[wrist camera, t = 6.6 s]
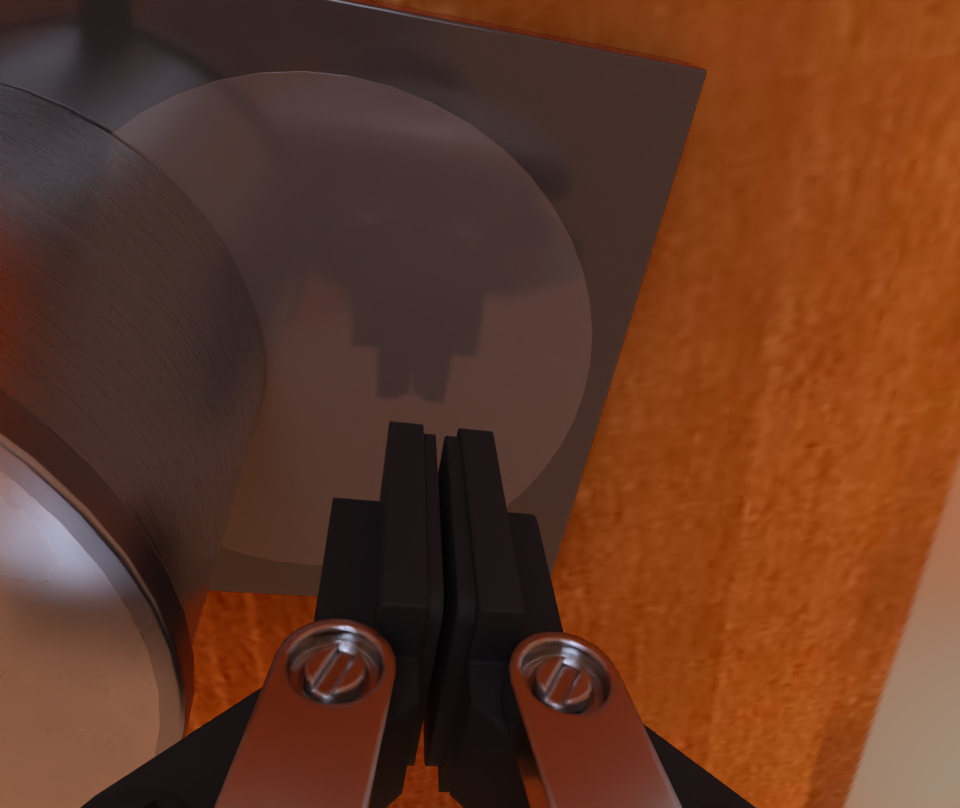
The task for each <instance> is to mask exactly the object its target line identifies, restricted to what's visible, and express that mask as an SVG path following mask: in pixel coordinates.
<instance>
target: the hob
mask: <svg viewBox="0 0 960 808" xmlns="http://www.w3.org/2000/svg"><path fill="white" fill-rule="evenodd" d="M705 76H706V70H705V69H703V68H700V67H698V66H695V65H693V64H691V63H688V62H686V61H681V60H676V59H670V58H665V57H660V56H655V55H650V54H645V53H640V52H635V51H629V50H624V49H619V48H614V47H609V46H604V45H599V44H593V43H588V42H583V41H578V40H573V39H568V38H563V37H558V36H552V35H547V34H542V33H537V32H532V31H527V30H522V29H517V28H511V27H506V26H501V25H496V24H491V23H486V22H481V21H476V20H470V19H465V18H460V17H455V16H450V15H445V14H440V13H435V12H429V11H424V10H419V9H414V8H409V7H404V6H399V5H393V4H388V3H383V2H378V1H373V0H0V84H1V85H4V86H7V87H11V88H14V89H18V90H21V91H23V92H26V93H28V94H31V95H33V96H35V97H38V98H40V99H43V100H45V101H47V102H50V103H52V104H55V105H57V106H59V107H62V108H64V109H66V110H68V111H70V112H71V113H73V114H75V115H77V116H79V117H81V118H82V119H84V120H86V121H88V122H90V123H91V124H93V125H95V126H97V127H99V128H101V129H102V130H104V131H106V132H107V133H109V134H110V135H111V136H113V137H114V138H116V139H117V140H119V141H120V142H121V143H123V144H124V145H126V146H127V147H129V148H130V149H132V150H133V151H134V152H136V153H137V154H139V155H140V156H142V157H143V158H144V159H145V160H146V161H147V162H148V163H150V164H151V165H152V166H153V167H154V168H155V169H157V170H158V171H159V172H160V173H161V174H162V175H163V176H165V177H166V178H167V179H168V180H169V181H170V182H172V183H173V184H174V185H175V186H176V187H177V189H178V190H179V191H180V192H181V193H182V194H183V195H184V196H185V197H186V198H187V199H188V200H189V202H190V203H191V204H192V205H193V206H194V207H195V208H196V209H197V210H198V211H199V212H200V213H201V215H202V216H203V217H204V219H205V220H206V221H207V223H208V224H209V225H210V227H211V228H212V230H213V231H214V232H215V234H216V235H217V236H218V238H219V239H220V240H221V242H222V243H223V245H224V246H225V248H226V250H227V252H228V253H229V255H230V257H231V259H232V260H233V262H234V264H235V266H236V267H237V269H238V271H239V273H240V275H241V276H242V279H243V281H244V284H245V286H246V289H247V291H248V294H249V296H250V298H251V301H252V303H253V306H254V309H255V313H256V317H257V321H258V325H259V329H260V333H261V336H262V345H263V354H264V363H265V373H264V394H263V399H262V403H261V408H260V413H259V418H258V422H257V425H256V429H255V432H254V435H253V439H252V442H251V446H250V449H249V453H248V456H247V459H246V463H245V466H244V470H243V473H242V477H241V480H240V484H239V487H238V490H237V494H236V497H235V501H234V504H233V508H232V511H231V515H230V518H229V521H228V525H227V528H226V532H225V535H224V539H223V542H222V546H221V549H220V552H219V556H218V559H217V563H216V566H215V570H214V573H213V577H212V580H211V583H210V587H209V590H208V591H225V592H243V593H261V594H279V595H297V596H315V597H318V592H319V586H320V579H321V573H322V566H323V559H324V553H325V546H326V540H327V533H328V526H329V520H330V513H331V506H332V500H333V497H335V498H346V499H358V500H370V501H379V500H380V492H381V484H382V476H383V468H384V460H385V452H386V444H387V436H388V428H389V422H390V421H394V422H404V423H414V424H423V426H424V433H425V434H435V435H436V447H437V466H438V471H439V465H440V459H441V453H442V447H443V442H444V438H445V436H455V437H456V436H457V432H458V429H459V428H464V429H474V430H484V431H492V432H493V434H494V439H495V445H496V451H497V456H498V462H499V467H500V473H501V479H502V484H503V490H504V496H505V501H506V507H507V512H513V513H524V514H533V515H534V516H536V519H537V522H538V525H539V529H540V534H541V538H542V543H543V547H544V551H545V556H546V560H547V564H548V569H549V573H550V577H551V575H552V571H553V568H554V565H555V562H556V559H557V555H558V552H559V549H560V546H561V542H562V539H563V536H564V533H565V529H566V526H567V523H568V520H569V516H570V513H571V510H572V507H573V504H574V500H575V497H576V494H577V491H578V487H579V484H580V481H581V478H582V474H583V471H584V468H585V465H586V461H587V458H588V455H589V452H590V449H591V445H592V442H593V439H594V436H595V432H596V429H597V426H598V423H599V419H600V416H601V413H602V410H603V406H604V403H605V400H606V397H607V394H608V390H609V387H610V384H611V381H612V377H613V374H614V371H615V368H616V364H617V361H618V358H619V355H620V351H621V348H622V345H623V342H624V338H625V335H626V332H627V329H628V326H629V322H630V319H631V316H632V313H633V309H634V306H635V303H636V300H637V296H638V293H639V290H640V287H641V283H642V280H643V277H644V274H645V271H646V267H647V264H648V261H649V258H650V254H651V251H652V248H653V245H654V241H655V238H656V235H657V232H658V228H659V225H660V222H661V219H662V216H663V212H664V209H665V206H666V203H667V199H668V196H669V193H670V190H671V186H672V183H673V180H674V177H675V173H676V170H677V167H678V164H679V161H680V157H681V154H682V151H683V148H684V144H685V141H686V138H687V135H688V131H689V128H690V125H691V122H692V118H693V115H694V112H695V109H696V106H697V102H698V99H699V96H700V93H701V89H702V86H703V83H704V80H705Z"/></svg>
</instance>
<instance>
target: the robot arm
mask: <svg viewBox="0 0 960 808" xmlns="http://www.w3.org/2000/svg"><path fill="white" fill-rule="evenodd" d="M423 719H424V762H425V766H438V783H439V792H450V795H451V796H452V797H453V798H454V799H455V800H456V801H457V802H458V803H459V804H460V805H461V806H462V807H464V808H755V807H754V806H753V805H751V804H750V803H749V802H747V801H746V800H745V799H743V798H742V797H740V796H739V795H738V794H736V793H735V792H734V791H732V790H731V789H730V788H728V787H727V786H726V785H724V784H723V783H722V782H720V781H719V780H718V779H716V778H715V777H714V776H712V775H711V774H710V773H708V772H707V771H706V770H704V769H703V768H702V767H700V766H699V765H698V764H696V763H695V762H694V761H692V760H691V759H690V758H688V757H687V756H686V755H684V754H683V753H682V752H680V751H679V750H677V749H676V748H675V747H673V746H672V745H671V744H669V743H668V742H667V741H665V740H664V739H663V738H661V737H660V736H659V735H657V734H656V733H655V732H653V731H652V730H651V729H649V728H648V727H647V726H645V725H644V724H643V723H642V721H641V719H640V717H639V715H638V712H637V710H636V708H635V706H634V704H633V702H632V700H631V697H630V695H629V693H628V691H627V689H626V687H625V685H624V683H623V680H622V678H621V676H620V674H619V672H618V670H617V669H616V667H615V666H614V664H613V663H612V661H611V660H610V658H609V657H608V656H607V655H606V654H605V653H603V652H602V651H601V650H600V649H599V648H598V647H597V646H595V645H594V644H592V643H590V642H588V641H586V640H585V639H583V638H581V637H578V636H574V635H571V634H568V633H564V632H563V630H562V625H561V621H560V617H559V612H558V608H557V604H556V599H555V595H554V590H553V586H552V582H551V577H550V573H549V569H548V564H547V560H546V556H545V551H544V547H543V543H542V538H541V534H540V529H539V525H538V522H537V519H536V516H534V515H533V514H524V513H513V512H507V507H506V501H505V496H504V490H503V484H502V479H501V473H500V467H499V462H498V456H497V451H496V445H495V439H494V434H493V432H492V431H484V430H474V429H464V428H459V429H458V432H457V436H456V437H455V436H445V438H444V442H443V447H442V453H441V459H440V465H439V471H438V466H437V447H436V435H435V434H425V433H424V426H423V424H414V423H404V422H394V421H390V422H389V428H388V436H387V444H386V452H385V460H384V468H383V476H382V484H381V492H380V500H379V501H370V500H358V499H346V498H335V497H333V500H332V506H331V513H330V520H329V526H328V533H327V540H326V546H325V553H324V559H323V566H322V573H321V579H320V586H319V592H318V599H317V606H316V612H315V619H314V622H312V623H310V624H307V625H305V626H303V627H301V628H298V629H297V630H296V631H294V632H293V633H292V634H291V635H290V636H288V637H287V638H286V639H285V640H284V641H283V643H282V644H281V646H280V648H279V649H278V651H277V652H276V654H275V657H274V659H273V662H272V664H271V667H270V669H269V672H268V674H267V677H266V679H265V682H264V684H263V687H262V688H260V689H259V690H257V691H256V692H254V693H252V694H251V695H249V696H248V697H246V698H245V699H243V700H242V701H240V702H239V703H237V704H235V705H234V706H232V707H231V708H229V709H228V710H226V711H225V712H223V713H222V714H220V715H219V716H217V717H215V718H214V719H212V720H211V721H209V722H208V723H206V724H205V725H203V726H202V727H200V728H198V729H197V730H195V731H194V732H192V733H191V734H189V735H188V736H186V737H185V738H183V739H182V740H180V741H178V742H177V743H175V744H174V745H172V746H171V747H169V748H168V749H166V750H165V751H163V752H161V753H160V754H158V755H157V756H155V757H154V758H152V759H151V760H149V761H148V762H146V763H145V764H143V765H141V766H140V767H138V768H137V769H135V770H134V771H132V772H131V773H129V774H128V775H126V776H125V777H123V778H121V779H120V780H118V781H117V782H115V783H114V784H112V785H111V786H109V787H108V788H106V789H104V790H103V791H101V792H100V793H98V794H97V795H95V796H94V797H93V798H91V799H90V800H89V801H88V802H87V803H85V804H84V805H83V806H82V807H80V808H386V807H387V806H389V805H390V804H391V803H392V802H393V801H394V800H395V799H396V798H397V797H398V796H399V795H401V794H402V790H403V785H404V779H405V774H406V769H407V766H413V765H414V763H415V758H416V753H417V748H418V743H419V738H420V733H421V728H422V722H423Z"/></svg>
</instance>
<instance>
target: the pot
mask: <svg viewBox="0 0 960 808" xmlns="http://www.w3.org/2000/svg"><path fill="white" fill-rule="evenodd" d="M264 373H265V363H264V354H263V345H262V336H261V333H260V329H259V325H258V321H257V317H256V313H255V309H254V306H253V303H252V301H251V298H250V296H249V294H248V291H247V289H246V286H245V284H244V281H243V279H242V276H241V275H240V273H239V271H238V269H237V267H236V266H235V264H234V262H233V260H232V259H231V257H230V255H229V253H228V252H227V250H226V248H225V246H224V245H223V243H222V242H221V240H220V239H219V238H218V236H217V235H216V234H215V232H214V231H213V230H212V228H211V227H210V225H209V224H208V223H207V221H206V220H205V219H204V217H203V216H202V215H201V213H200V212H199V211H198V210H197V209H196V208H195V207H194V206H193V205H192V204H191V203H190V202H189V200H188V199H187V198H186V197H185V196H184V195H183V194H182V193H181V192H180V191H179V190H178V189H177V187H176V186H175V185H174V184H173V183H172V182H170V181H169V180H168V179H167V178H166V177H165V176H163V175H162V174H161V173H160V172H159V171H158V170H157V169H155V168H154V167H153V166H152V165H151V164H150V163H148V162H147V161H146V160H145V159H144V158H143V157H142V156H140V155H139V154H137V153H136V152H134V151H133V150H132V149H130V148H129V147H127V146H126V145H124V144H123V143H121V142H120V141H119V140H117V139H116V138H114V137H113V136H111V135H110V134H109V133H107V132H106V131H104V130H102V129H101V128H99V127H97V126H95V125H93V124H91V123H90V122H88V121H86V120H84V119H82V118H81V117H79V116H77V115H75V114H73V113H71V112H70V111H68V110H66V109H64V108H62V107H59V106H57V105H55V104H52V103H50V102H47V101H45V100H43V99H40V98H38V97H35V96H33V95H31V94H28V93H26V92H23V91H21V90H18V89H14V88H11V87H7V86H4V85H1V84H0V808H80V807H82V806H83V805H84V804H85V803H87V802H88V801H89V800H90V799H91V798H93V797H94V796H95V795H97V794H98V793H100V792H101V791H103V790H104V789H106V788H108V787H109V786H111V785H112V784H114V783H115V782H117V781H118V780H120V779H121V778H123V777H125V776H126V775H128V774H129V773H131V772H132V771H134V770H135V769H137V768H138V767H140V766H141V765H143V764H145V763H146V762H148V761H149V760H151V759H152V758H154V757H155V756H157V755H158V754H160V753H161V752H163V751H165V750H166V749H168V748H169V747H171V746H172V745H174V744H175V743H177V742H178V741H180V740H182V739H183V738H185V734H186V730H187V727H188V722H189V717H190V712H191V707H192V702H193V697H194V654H193V649H192V645H193V642H194V639H195V635H196V632H197V628H198V625H199V621H200V618H201V614H202V611H203V608H204V604H205V601H206V597H207V594H208V590H209V587H210V583H211V580H212V577H213V573H214V570H215V566H216V563H217V559H218V556H219V552H220V549H221V546H222V542H223V539H224V535H225V532H226V528H227V525H228V521H229V518H230V515H231V511H232V508H233V504H234V501H235V497H236V494H237V490H238V487H239V484H240V480H241V477H242V473H243V470H244V466H245V463H246V459H247V456H248V453H249V449H250V446H251V442H252V439H253V435H254V432H255V429H256V425H257V422H258V418H259V413H260V408H261V403H262V399H263V394H264Z"/></svg>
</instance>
